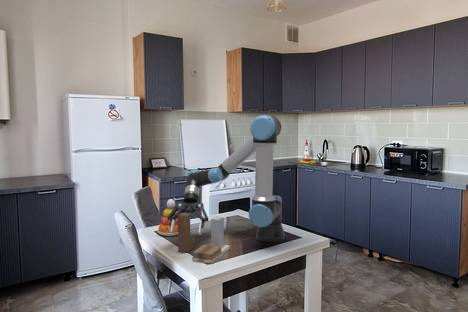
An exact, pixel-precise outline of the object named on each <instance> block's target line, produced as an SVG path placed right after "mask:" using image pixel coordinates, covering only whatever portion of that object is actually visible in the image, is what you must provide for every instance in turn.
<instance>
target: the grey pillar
mask: <svg viewBox="0 0 468 312" xmlns="http://www.w3.org/2000/svg"><path fill="white" fill-rule="evenodd" d="M224 220H225V219H224V216H220V215H219V216H217V215H215V216H214V217H212V218H211V219H210V224H211V225H210V228H211V229H210V234H211V235H210V237H211V238H210V243H211V246H220V247H222V246H223V245H225V244H224V243H225V242H224V238H225V237H224V234H225V233H224V230H225V229H224V227H225V226H224Z"/></svg>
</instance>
